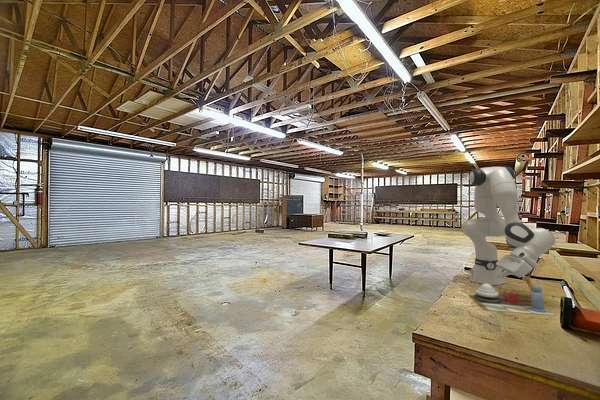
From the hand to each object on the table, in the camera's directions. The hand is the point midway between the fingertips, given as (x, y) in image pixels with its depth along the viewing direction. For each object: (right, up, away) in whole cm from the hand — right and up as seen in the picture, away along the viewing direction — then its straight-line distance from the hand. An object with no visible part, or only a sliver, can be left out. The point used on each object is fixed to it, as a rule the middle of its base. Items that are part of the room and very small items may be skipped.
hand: (499, 277), depth 129 cm
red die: (+5, -11, -2) cm, 12 cm away
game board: (0, -12, -5) cm, 14 cm away
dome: (-5, -9, +1) cm, 10 cm away
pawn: (+7, -10, -13) cm, 18 cm away
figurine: (+19, -13, +3) cm, 23 cm away
